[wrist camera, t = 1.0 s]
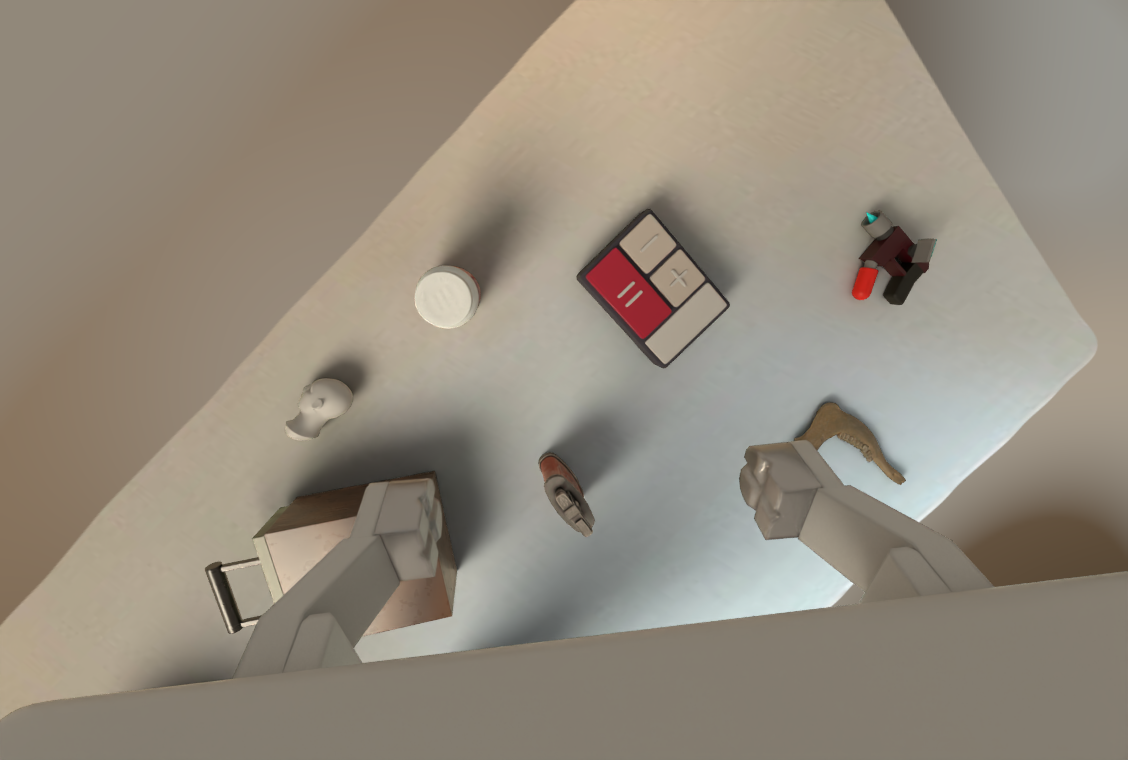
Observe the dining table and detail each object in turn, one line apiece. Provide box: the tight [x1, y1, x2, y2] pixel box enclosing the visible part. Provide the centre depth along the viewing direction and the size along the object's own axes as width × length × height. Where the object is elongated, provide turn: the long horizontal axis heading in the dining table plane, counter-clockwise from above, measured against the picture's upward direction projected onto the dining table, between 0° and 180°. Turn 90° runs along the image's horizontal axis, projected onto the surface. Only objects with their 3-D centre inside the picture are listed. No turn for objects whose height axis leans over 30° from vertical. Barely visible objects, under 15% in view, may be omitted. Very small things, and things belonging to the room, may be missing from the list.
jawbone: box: [794, 403, 906, 485], centre depth 65 cm, size 9×20×2 cm, turn 75°
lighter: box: [538, 452, 595, 537], centre depth 56 cm, size 8×3×10 cm, turn 35°
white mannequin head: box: [285, 378, 353, 441], centre depth 52 cm, size 4×8×5 cm
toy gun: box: [852, 210, 937, 305], centre depth 58 cm, size 10×12×5 cm
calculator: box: [577, 209, 730, 368], centre depth 55 cm, size 11×4×15 cm
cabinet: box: [264, 471, 457, 636], centre depth 55 cm, size 16×14×8 cm
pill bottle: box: [415, 265, 480, 328], centre depth 48 cm, size 6×6×11 cm
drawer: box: [205, 506, 289, 634], centre depth 54 cm, size 21×13×7 cm, turn 98°
